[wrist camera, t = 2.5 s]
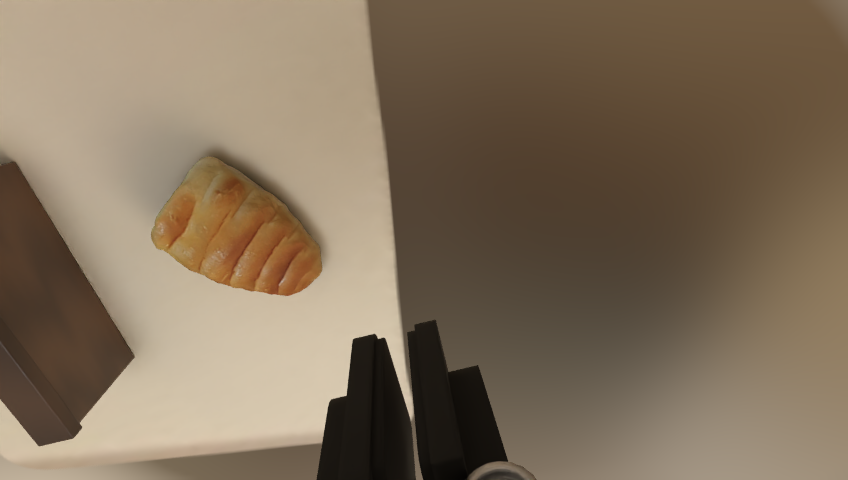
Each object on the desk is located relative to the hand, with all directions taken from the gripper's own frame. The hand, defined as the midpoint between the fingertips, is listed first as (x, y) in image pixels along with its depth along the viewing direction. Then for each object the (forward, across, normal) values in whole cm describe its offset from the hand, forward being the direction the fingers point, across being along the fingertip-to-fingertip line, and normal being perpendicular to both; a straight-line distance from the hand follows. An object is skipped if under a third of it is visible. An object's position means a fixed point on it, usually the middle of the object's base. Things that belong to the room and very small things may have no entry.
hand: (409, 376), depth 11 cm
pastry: (+17, +10, 0) cm, 20 cm away
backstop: (+17, +22, 0) cm, 28 cm away
